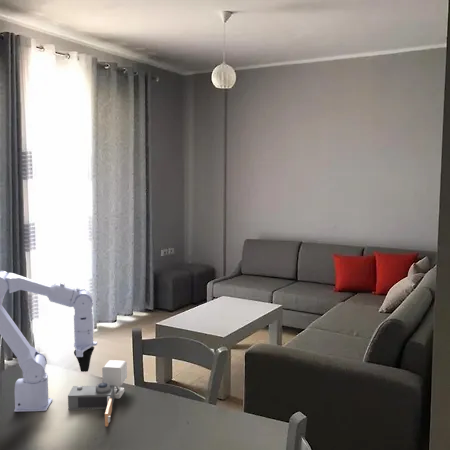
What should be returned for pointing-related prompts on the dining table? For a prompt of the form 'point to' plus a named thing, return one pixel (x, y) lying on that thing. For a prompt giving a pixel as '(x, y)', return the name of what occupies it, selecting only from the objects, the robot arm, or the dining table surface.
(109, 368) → the security camera
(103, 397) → the housing
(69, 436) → the dining table surface
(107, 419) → the hatch
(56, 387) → the dining table surface
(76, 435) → the dining table surface
